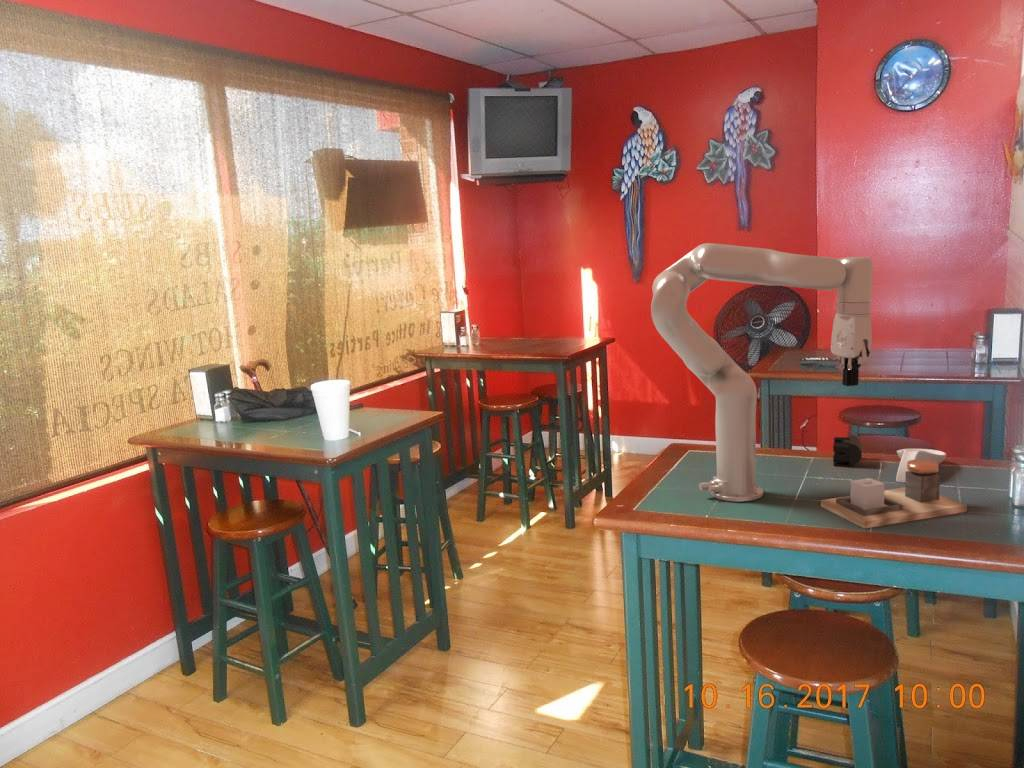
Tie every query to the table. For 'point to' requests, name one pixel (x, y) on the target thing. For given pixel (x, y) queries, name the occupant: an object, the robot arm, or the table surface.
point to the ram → (922, 466)
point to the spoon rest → (913, 455)
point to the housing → (867, 493)
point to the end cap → (846, 451)
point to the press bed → (900, 503)
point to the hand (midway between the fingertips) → (850, 385)
